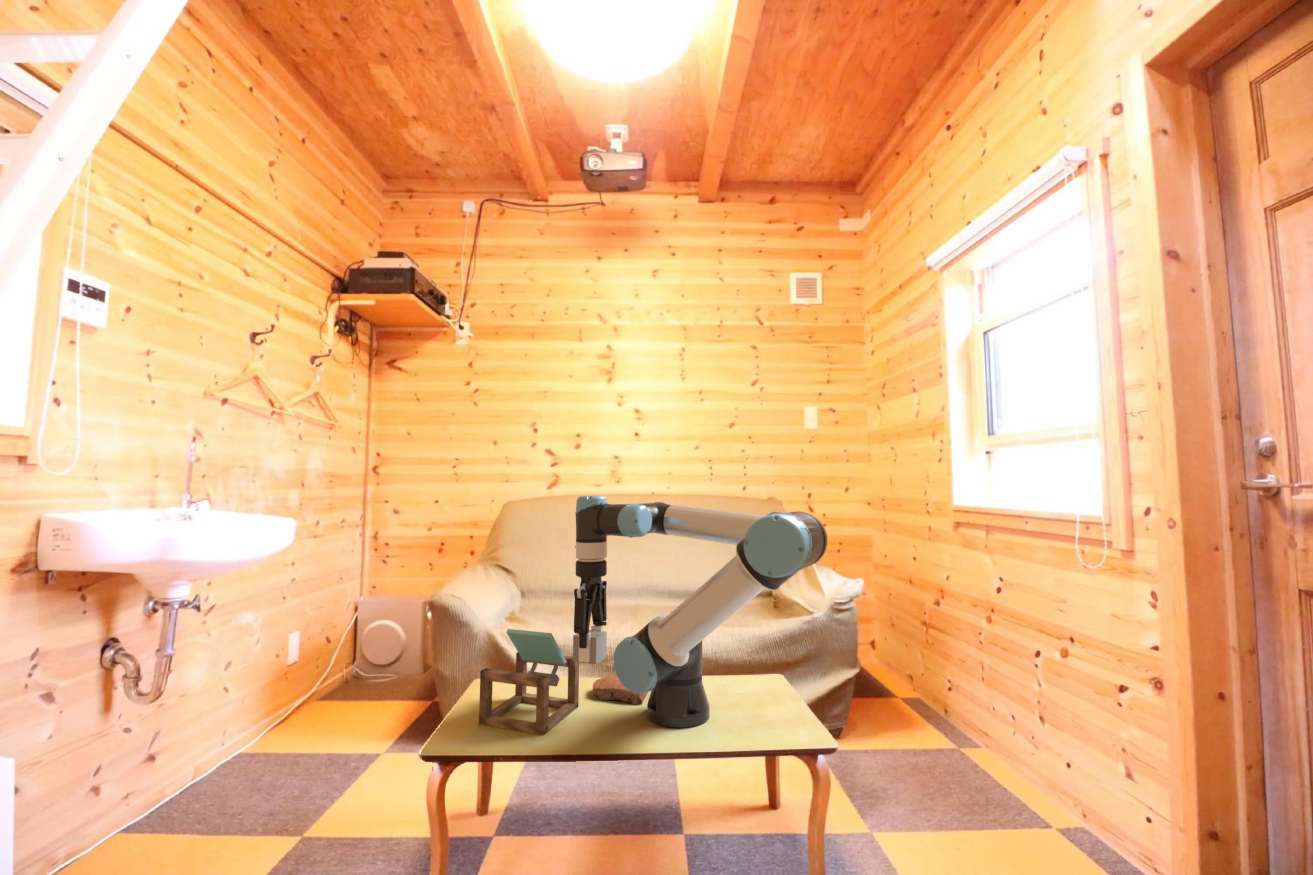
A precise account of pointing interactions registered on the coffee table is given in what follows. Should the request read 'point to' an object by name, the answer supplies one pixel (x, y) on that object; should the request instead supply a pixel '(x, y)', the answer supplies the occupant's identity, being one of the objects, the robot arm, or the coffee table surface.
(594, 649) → the gray cube
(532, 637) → the trapdoor
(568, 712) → the frame
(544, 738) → the coffee table surface
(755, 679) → the coffee table surface
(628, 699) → the ceramic shard
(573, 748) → the coffee table surface
